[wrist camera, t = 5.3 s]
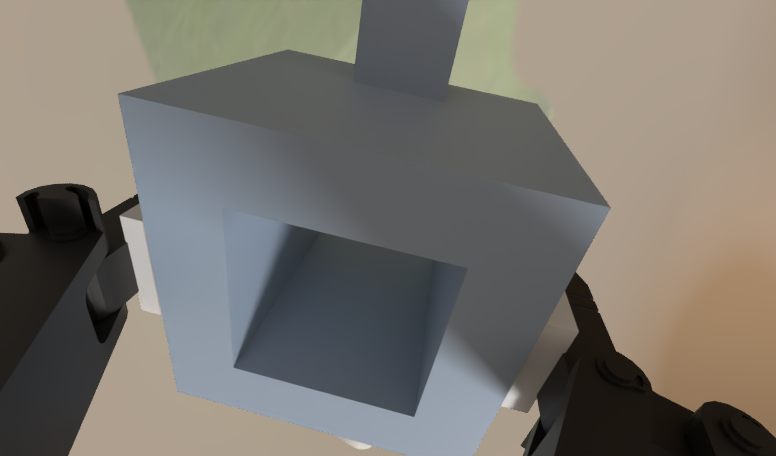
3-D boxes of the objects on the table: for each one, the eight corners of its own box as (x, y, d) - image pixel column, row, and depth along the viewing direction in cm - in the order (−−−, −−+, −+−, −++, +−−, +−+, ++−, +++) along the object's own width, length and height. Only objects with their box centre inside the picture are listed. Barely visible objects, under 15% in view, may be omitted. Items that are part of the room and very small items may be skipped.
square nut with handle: (464, 296, 16) (464, 471, 10) (282, 250, 16) (177, 391, 10) (588, -33, 10) (774, -87, 4) (292, -91, 10) (55, -217, 4)
